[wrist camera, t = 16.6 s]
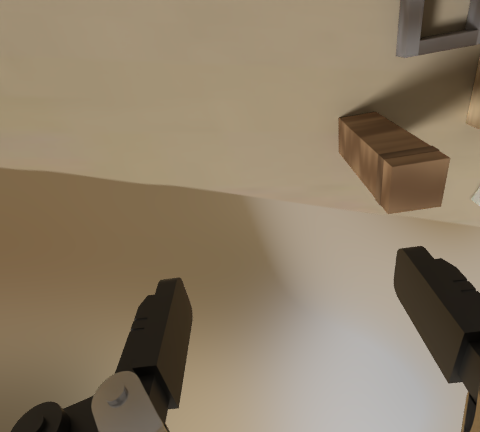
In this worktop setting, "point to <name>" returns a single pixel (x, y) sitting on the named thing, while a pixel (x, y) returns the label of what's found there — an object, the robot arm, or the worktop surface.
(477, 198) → the supplement box
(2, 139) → the worktop surface
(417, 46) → the wooden chest
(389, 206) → the wooden block
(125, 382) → the robot arm
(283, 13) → the worktop surface
